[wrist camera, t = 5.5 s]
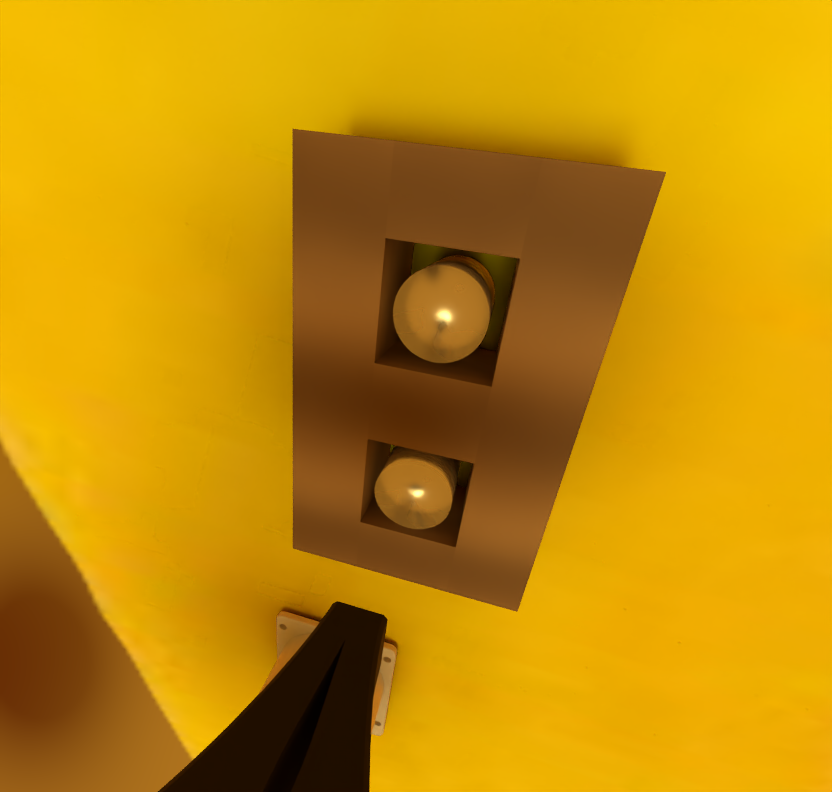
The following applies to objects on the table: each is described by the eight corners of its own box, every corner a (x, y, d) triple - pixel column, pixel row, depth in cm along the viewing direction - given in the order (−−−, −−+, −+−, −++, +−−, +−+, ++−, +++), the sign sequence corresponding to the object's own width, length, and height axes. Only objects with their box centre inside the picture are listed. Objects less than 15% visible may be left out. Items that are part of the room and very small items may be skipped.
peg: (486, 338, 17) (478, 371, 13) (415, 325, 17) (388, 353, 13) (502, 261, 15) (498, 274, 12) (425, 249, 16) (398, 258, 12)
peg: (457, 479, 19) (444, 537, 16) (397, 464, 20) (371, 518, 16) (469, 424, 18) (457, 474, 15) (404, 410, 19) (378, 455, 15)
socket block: (516, 542, 20) (517, 611, 17) (329, 494, 22) (293, 548, 18) (626, 184, 14) (666, 172, 10) (345, 150, 15) (292, 129, 12)
